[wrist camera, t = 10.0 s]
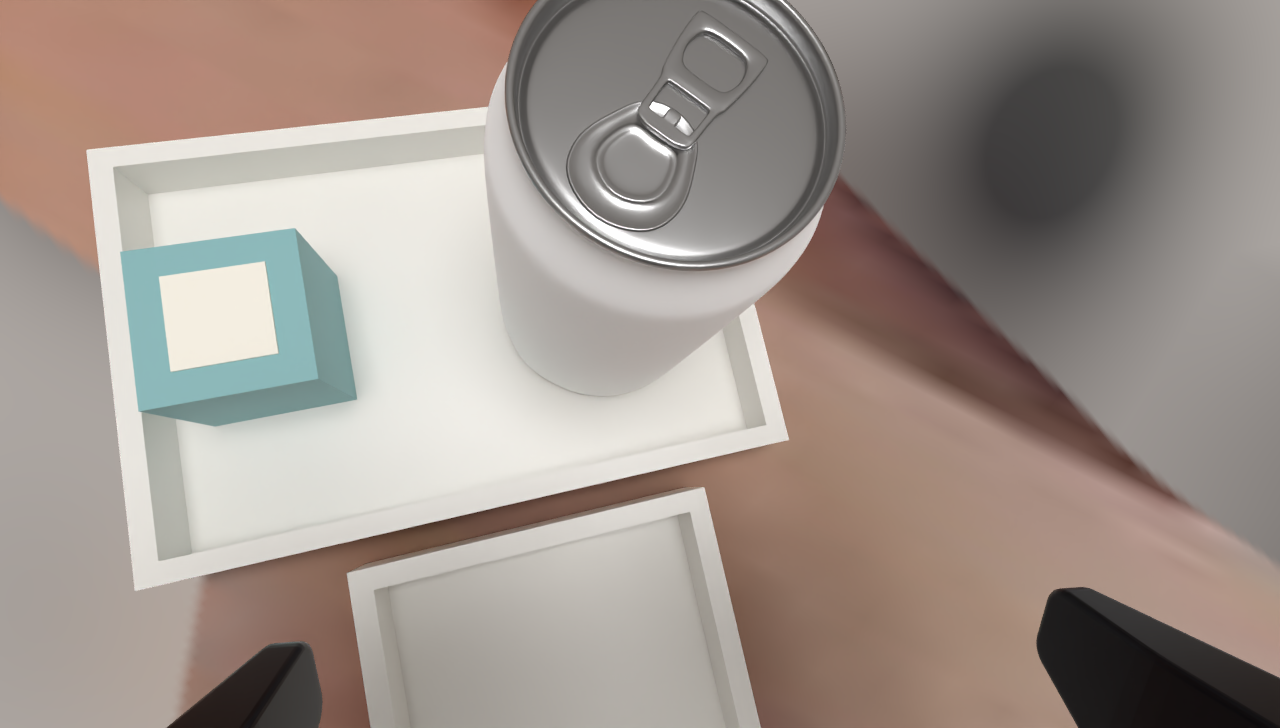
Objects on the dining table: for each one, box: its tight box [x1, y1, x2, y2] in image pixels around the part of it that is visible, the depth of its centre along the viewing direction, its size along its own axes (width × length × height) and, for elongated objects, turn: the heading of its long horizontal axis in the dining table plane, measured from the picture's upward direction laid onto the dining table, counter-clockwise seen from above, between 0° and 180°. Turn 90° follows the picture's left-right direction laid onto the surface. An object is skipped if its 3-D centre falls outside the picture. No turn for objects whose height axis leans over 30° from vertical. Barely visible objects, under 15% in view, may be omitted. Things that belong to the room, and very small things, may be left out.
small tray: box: [347, 487, 761, 728], centre depth 19 cm, size 10×10×2 cm
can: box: [484, 0, 846, 396], centre depth 16 cm, size 6×6×12 cm
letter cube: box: [120, 228, 357, 427], centre depth 18 cm, size 4×4×4 cm
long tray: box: [86, 107, 789, 591], centre depth 21 cm, size 12×18×2 cm
